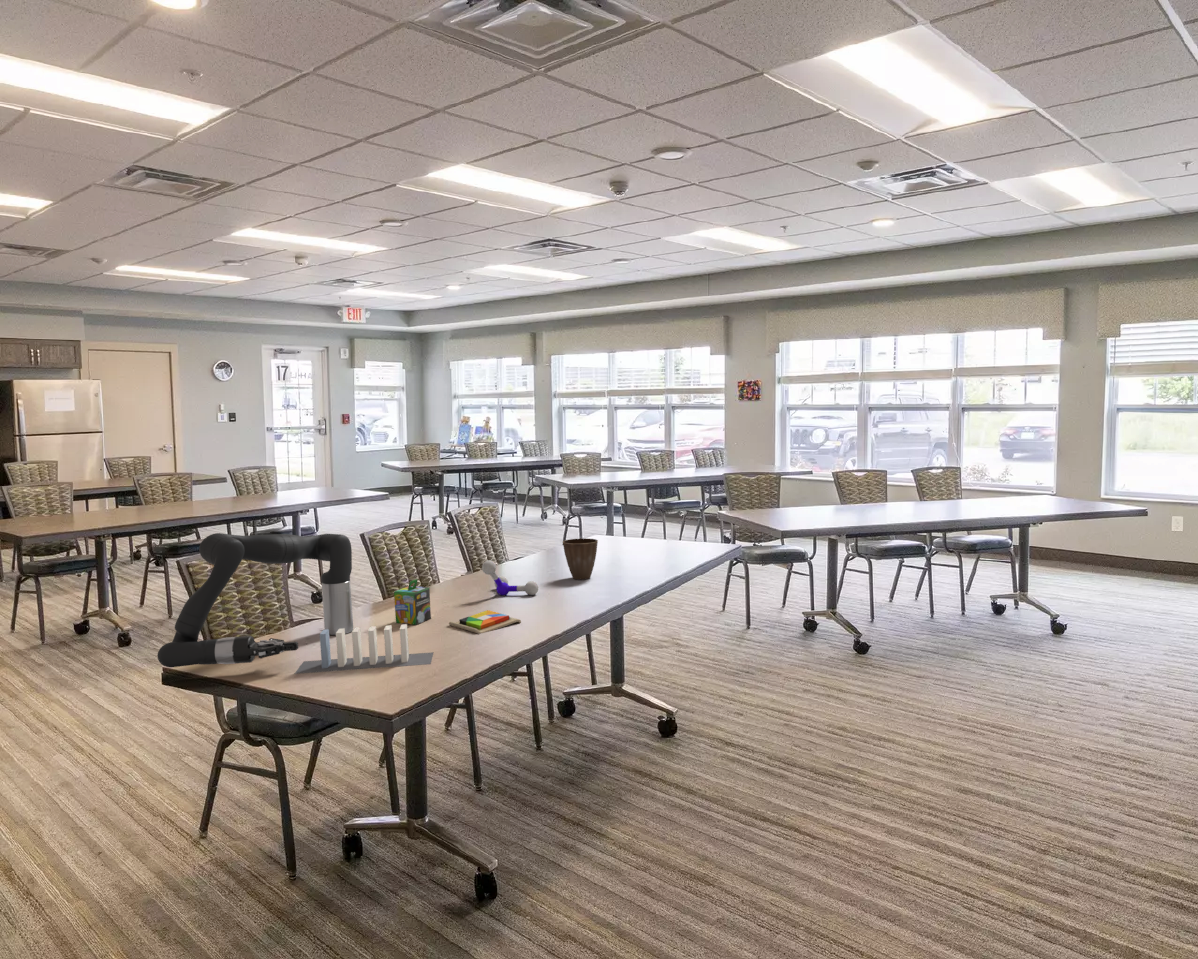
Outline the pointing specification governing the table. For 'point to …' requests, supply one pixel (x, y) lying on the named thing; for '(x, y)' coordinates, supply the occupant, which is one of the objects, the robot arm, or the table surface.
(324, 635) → the tile
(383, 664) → the runner
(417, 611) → the chalk box
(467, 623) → the wooden puzzle
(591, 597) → the table surface
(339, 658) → the tile
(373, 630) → the tile
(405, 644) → the tile
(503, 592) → the molecular model
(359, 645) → the tile
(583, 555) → the plant pot
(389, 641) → the tile
